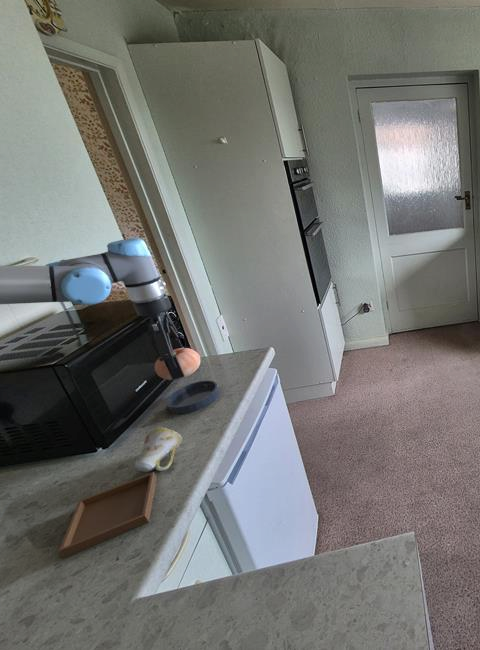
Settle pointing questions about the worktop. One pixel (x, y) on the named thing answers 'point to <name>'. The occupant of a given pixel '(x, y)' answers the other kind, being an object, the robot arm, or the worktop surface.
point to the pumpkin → (186, 359)
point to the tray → (109, 514)
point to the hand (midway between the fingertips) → (180, 368)
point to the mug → (158, 449)
